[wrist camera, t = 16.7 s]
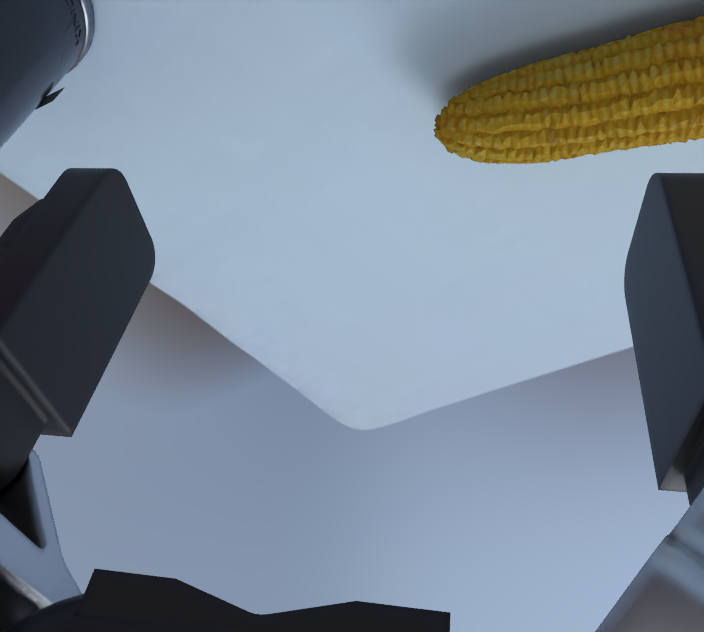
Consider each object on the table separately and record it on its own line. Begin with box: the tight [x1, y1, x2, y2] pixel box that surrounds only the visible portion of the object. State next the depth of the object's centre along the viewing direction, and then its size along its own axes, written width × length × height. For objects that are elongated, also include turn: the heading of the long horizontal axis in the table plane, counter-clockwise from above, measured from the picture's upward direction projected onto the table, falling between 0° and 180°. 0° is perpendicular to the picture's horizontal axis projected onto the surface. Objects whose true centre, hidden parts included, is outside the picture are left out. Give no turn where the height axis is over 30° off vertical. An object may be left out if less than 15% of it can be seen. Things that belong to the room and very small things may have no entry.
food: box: [434, 16, 704, 164], centre depth 32 cm, size 21×6×6 cm, turn 112°
